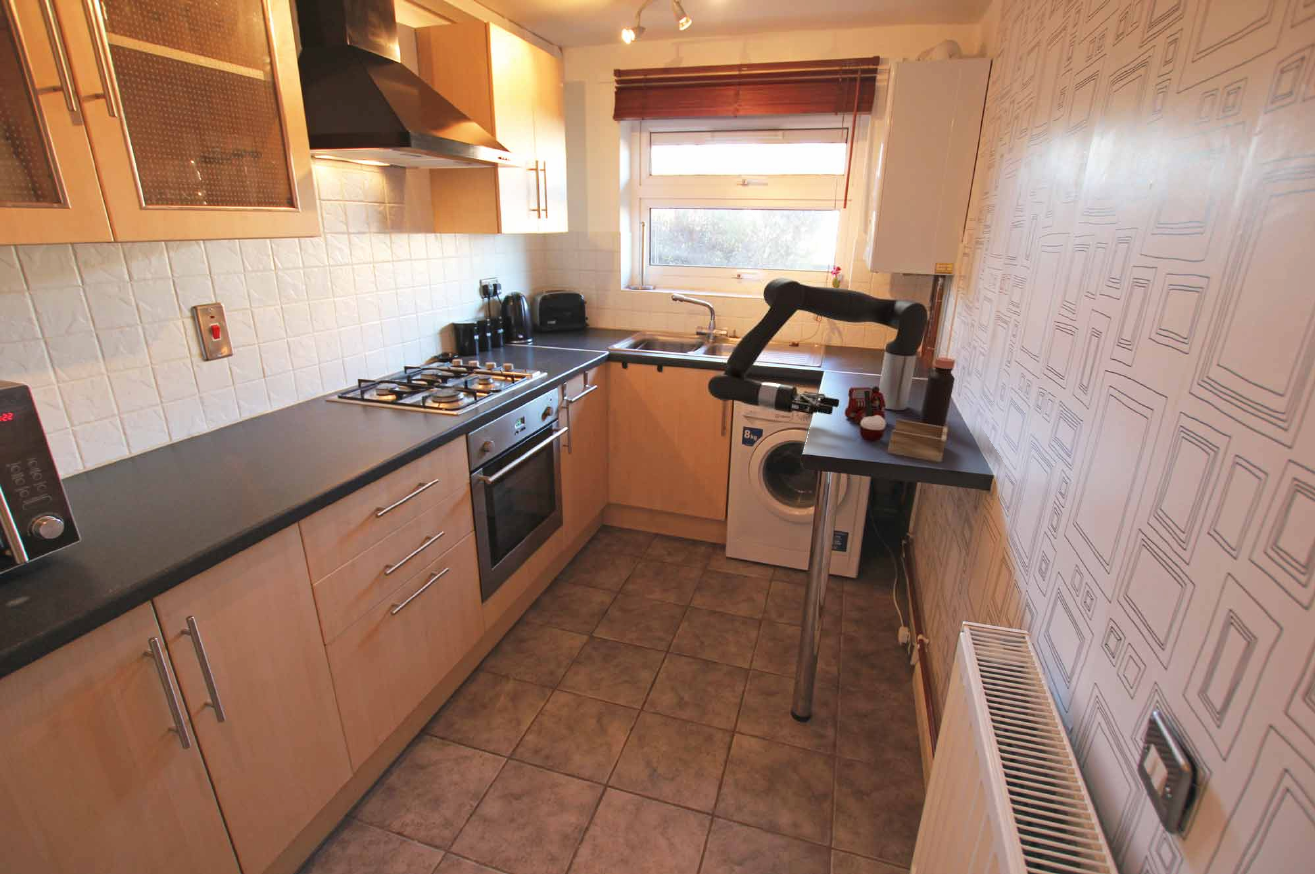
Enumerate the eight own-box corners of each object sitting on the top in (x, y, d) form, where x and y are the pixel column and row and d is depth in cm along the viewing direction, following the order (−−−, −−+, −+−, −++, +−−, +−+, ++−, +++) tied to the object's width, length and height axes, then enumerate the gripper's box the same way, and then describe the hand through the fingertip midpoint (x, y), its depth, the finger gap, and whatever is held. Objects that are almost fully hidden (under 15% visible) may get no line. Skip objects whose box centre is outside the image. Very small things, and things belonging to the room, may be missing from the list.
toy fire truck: (889, 424, 177) (895, 389, 174) (852, 425, 174) (857, 390, 170) (875, 417, 183) (881, 383, 180) (839, 418, 180) (844, 384, 177)
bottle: (918, 422, 179) (931, 355, 173) (943, 426, 177) (957, 358, 171) (919, 429, 173) (933, 360, 167) (945, 432, 171) (960, 363, 165)
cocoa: (885, 446, 159) (895, 403, 154) (860, 443, 159) (870, 400, 155) (877, 433, 168) (886, 392, 163) (853, 431, 168) (862, 389, 164)
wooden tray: (893, 437, 165) (897, 418, 163) (943, 446, 160) (948, 426, 158) (887, 452, 153) (891, 431, 152) (941, 462, 148) (945, 441, 146)
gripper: (771, 389, 164) (832, 399, 158) (785, 379, 176) (842, 388, 170) (768, 415, 167) (828, 426, 160) (782, 404, 179) (838, 413, 172)
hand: (835, 406), depth 165 cm, fingers open, 8 cm apart
